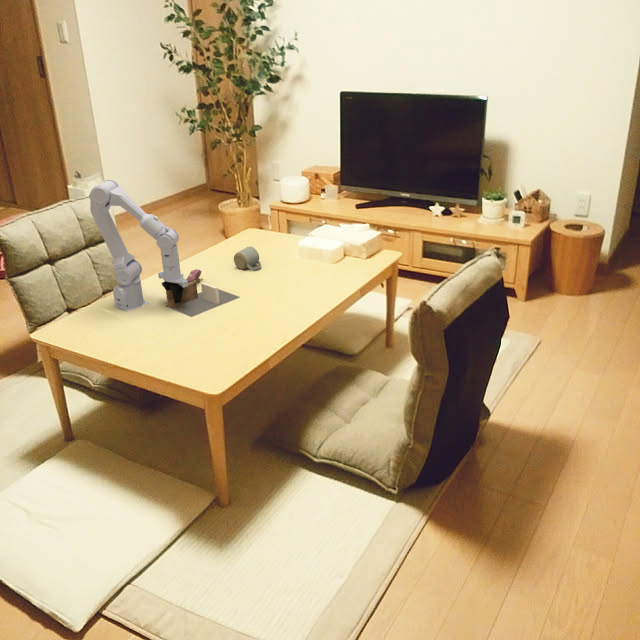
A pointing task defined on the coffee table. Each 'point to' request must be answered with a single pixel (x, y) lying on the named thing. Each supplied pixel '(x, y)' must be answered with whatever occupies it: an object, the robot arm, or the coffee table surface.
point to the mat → (203, 304)
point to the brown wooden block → (183, 295)
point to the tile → (210, 293)
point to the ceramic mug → (247, 258)
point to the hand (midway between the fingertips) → (175, 301)
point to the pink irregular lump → (194, 276)
